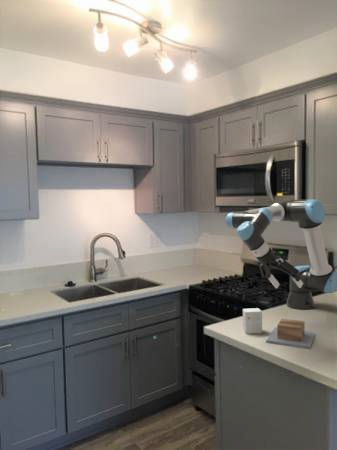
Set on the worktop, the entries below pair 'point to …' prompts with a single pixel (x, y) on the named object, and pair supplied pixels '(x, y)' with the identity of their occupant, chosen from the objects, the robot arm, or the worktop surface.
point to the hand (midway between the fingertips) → (289, 286)
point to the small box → (252, 320)
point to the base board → (304, 343)
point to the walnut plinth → (291, 330)
